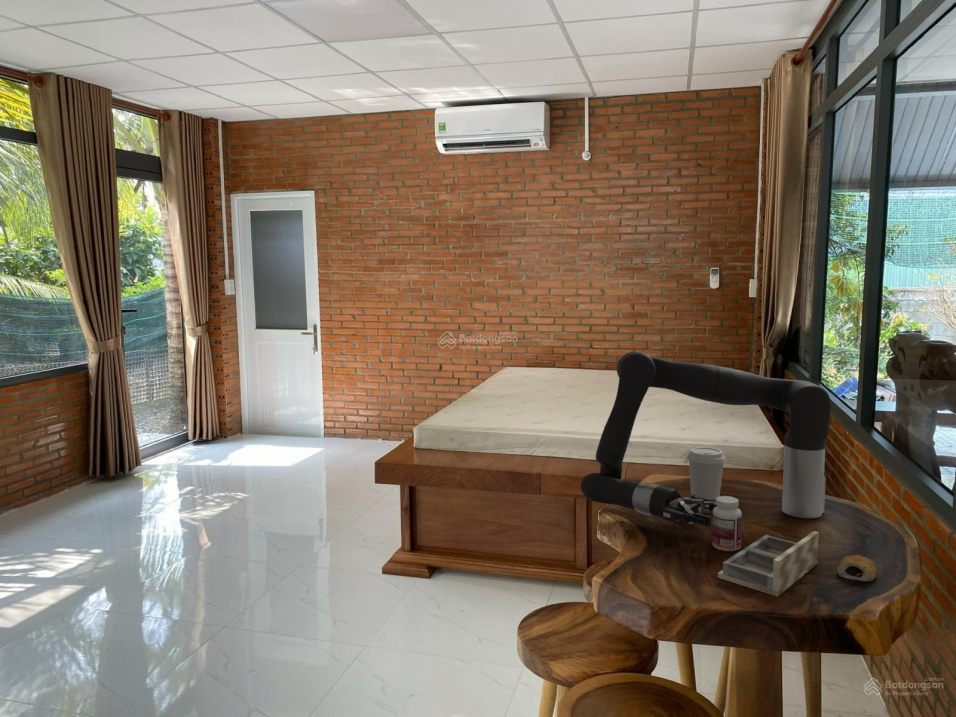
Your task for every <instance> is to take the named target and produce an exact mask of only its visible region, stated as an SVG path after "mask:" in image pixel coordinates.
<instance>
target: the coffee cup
mask: <svg viewBox="0 0 956 717" xmlns="http://www.w3.org/2000/svg"><path fill="white" fill-rule="evenodd" d="M686 459H687V460H688V466H689V468H688V470H689V482H690V483H689V484H690V496H691V495H697V496H702V497H707V498H711V499H715V500H716V499H717V497H720V496H721V495H720V494H721V488H722V487H721V486H722V479H723V472H724V471H723V470H724V469H723V468H724V463H725V462H726V455H724V452H723V450H721V449H720V448H714V447H709V446H698V447H697V446H696V447H691V448H690V450H689V452H688V453H687V455H686ZM715 504H716V501H715ZM707 506H709V505H707ZM699 510H700V508H699V507H698V511H699Z"/></svg>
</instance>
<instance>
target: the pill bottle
mask: <svg viewBox="0 0 956 717" xmlns="http://www.w3.org/2000/svg"><path fill="white" fill-rule="evenodd" d="M739 502H740V501H739V499H738V498H736V497H733V496H729V495H722V496H721V495H720V496H719V497H717V499H716V505H717V507H715V508H714V509H713V513H712V519H711V525H712V528H711V529H712V530H711V531H712V534H711V536H712V537H711V543H712V546H713V547H714V548H715V549H717V550H718V551H722V550H723V552H736V550H737V551H739V550H741V548H742V534H743V533H742V532H743V530H742V528H743V527H742V524H743V523H742V522H743V521H742V520H743V514H742V510H741V509H740V508H739V504H740V503H739Z"/></svg>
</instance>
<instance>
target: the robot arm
mask: <svg viewBox="0 0 956 717" xmlns="http://www.w3.org/2000/svg"><path fill="white" fill-rule="evenodd" d="M616 373H617V377H618V386H617V392H616V397H615V401H614V404H613V406H612V408H611V411H610V414H609V415H608V418H607V420H606V423H605V425H604V428H603V430H602V433H601V436H600V439H599V442H598V446H597V448H596V452H595V461H596V462H597V463H598V464H600V468H599V472H590V473H588V474H586V475H585V476H584V477H583V478H582V480H581V482H580V492H581V493H582V495H583V497H585V498H586V499H587V500H589V501H592V502H595V503H600V504H608V505H613V506H619V507H622V508H623V509H628V510H632V511H636V512H639V513H641V514H643V515H647V516H651V517H654V518H657V519H662V520H665V521H668V522H673V523H675V524H677V525H681V526H687V525H688V524H689V525H690V524H691V525H692V524H697V525H701V526H704V527H711V525H712V517H711V516H710V515H706V514H713V509H714V508H715V507H717V505H716V504H715V501H716V500H715V499H711V498H707V497H702V496H697V495H691V494H690V497H682V496H681V494H680V492H679V491H678V490H677V489H675V488H671V487H668V486H662V485H658V484H654V483H646V482H640V481H637V480H632V479H622V476H623V474H622V473H623V461H624V458H625V455H626V451H627V449H628V446H629V442H630V438H631V435H632V431H633V429H634V425H635V422H636V419H637V416H638V413H639V409H640V407H641V404H642V402H643V400H644V399H645V396H646V394H647V392H648V390H649V388H657V389H664V390H665V389H666V390H670V391H673V392H677V393H679V394H681V395H682V394H683V395H685V396H688V397H691V398H694V399H698V400H701V401H705V402H710V403H716V404H722V405H727V406H728V405H729V406H763V407H767V408H772V409H776V410H780V411H783V412H785V413H789V414H790V416H789V428H788V431H787V432H786V433H785V435H784V446H783V447H784V449H783V451H784V453H783V456H784V457H783V475H782V478H783V479H782V499H781V501H782V503H781V504H782V506H781V509H782V510H781V511H782V513H784V514H786V515H788V516H791V517H795V518H801V519H817V518H820V517H822V515H823V513H825V501H826V498H825V497H826V480H827V478H826V475H825V458H826V457H825V456H826V443H827V442H826V441H827V439H828V437H829V434H830V424H831V410H832V407H831V406H832V404H831V398H830V395H829V393H828V392H827V390H826V389H824V388H823V387H821V386H820V385H818V384H815V383H813V382H811V381H808V380H798V379H785V378H774V377H766V376H762V375H759V374H755V373H752V372H748V371H744V370H740V369H734V368H732V367H725V366H722V365H721V366H720V365H713V364H707V363H696V362H682V361H681V362H679V361H673V360H672V361H671V360H667V359H664V358H659V357H656V356H652V355H649V354H647V353H645V352H641V351H629V352H626V353H625V354H623V355H622V356H621V357H620V358H619V360H618V361H617V365H616ZM707 505H709V506H707ZM698 507H699V508H700V510H698Z"/></svg>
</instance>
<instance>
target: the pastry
mask: <svg viewBox="0 0 956 717" xmlns="http://www.w3.org/2000/svg"><path fill="white" fill-rule="evenodd" d="M837 564H838V566H837V568H836V573H837V574H838V576H839V577H841V578H844V579H846V580H852V581H853V580H854V581H858V582H862V583H863V582H867V583H869V582H872V581H874V580H875V578H877V572H878V570H877V566H876V564H875V563H874V561H873V560H872V559H871V558H869V557H865V556H863V555H860V554H853V555H852V554H851V555H846V556H844V557H842V559H840V560H839V561H838V563H837Z"/></svg>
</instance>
